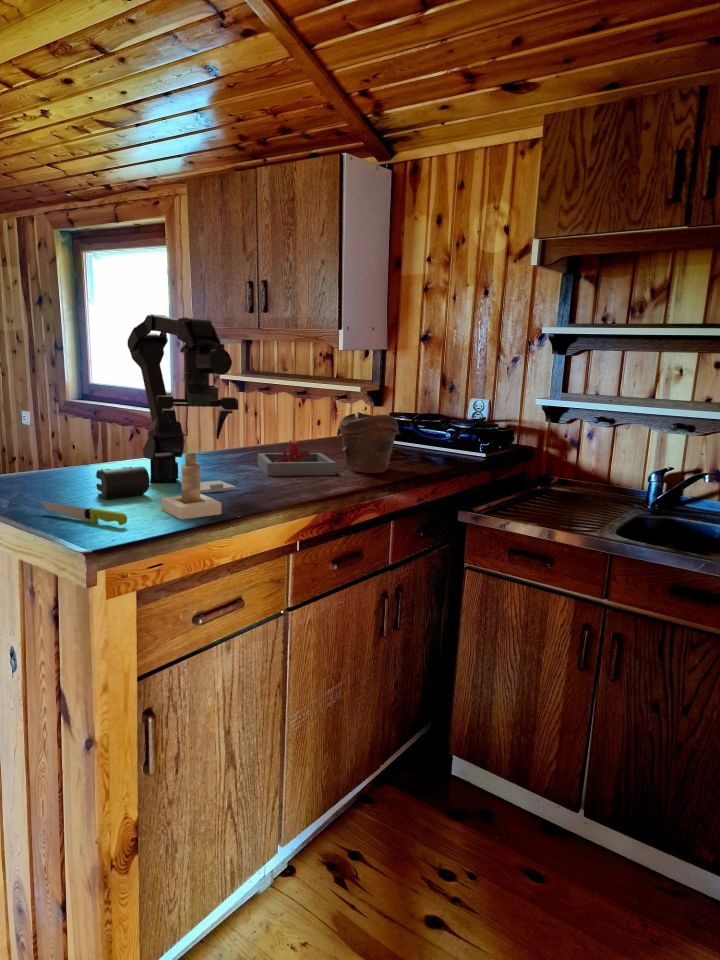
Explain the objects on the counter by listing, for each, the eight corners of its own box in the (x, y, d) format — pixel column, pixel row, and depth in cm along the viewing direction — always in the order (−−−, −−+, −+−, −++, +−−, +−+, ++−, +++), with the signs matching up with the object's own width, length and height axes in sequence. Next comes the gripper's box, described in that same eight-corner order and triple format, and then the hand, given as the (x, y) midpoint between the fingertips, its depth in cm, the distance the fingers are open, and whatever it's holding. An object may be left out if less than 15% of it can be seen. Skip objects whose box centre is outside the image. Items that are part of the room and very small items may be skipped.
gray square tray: (267, 475, 177) (267, 463, 176) (257, 464, 195) (257, 453, 194) (335, 474, 183) (336, 462, 182) (320, 464, 201) (320, 452, 200)
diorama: (280, 463, 195) (280, 436, 194) (315, 467, 191) (315, 439, 190) (262, 468, 185) (263, 440, 184) (299, 472, 181) (299, 443, 180)
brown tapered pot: (350, 461, 207) (352, 407, 203) (406, 468, 198) (409, 412, 195) (323, 470, 191) (325, 411, 187) (383, 478, 183) (386, 416, 179)
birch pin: (182, 514, 131) (181, 455, 129) (181, 509, 134) (180, 452, 132) (200, 513, 132) (200, 454, 130) (199, 509, 136) (199, 452, 133)
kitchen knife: (38, 515, 127) (37, 500, 126) (43, 513, 128) (42, 499, 127) (123, 530, 118) (122, 515, 118) (128, 528, 119) (127, 513, 119)
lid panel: (183, 487, 158) (182, 480, 157) (219, 483, 164) (219, 476, 164) (198, 493, 151) (198, 486, 150) (236, 489, 157) (236, 482, 157)
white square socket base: (161, 509, 134) (161, 498, 134) (200, 504, 140) (200, 493, 139) (180, 519, 127) (180, 507, 126) (221, 514, 132) (221, 502, 132)
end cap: (107, 502, 139) (106, 472, 138) (95, 496, 144) (93, 467, 143) (150, 497, 146) (149, 468, 144) (137, 491, 151) (136, 464, 149)
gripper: (155, 372, 137) (156, 443, 140) (241, 375, 143) (241, 443, 145) (155, 371, 147) (156, 437, 150) (235, 373, 153) (235, 437, 156)
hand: (197, 438), depth 150 cm, fingers open, 9 cm apart
